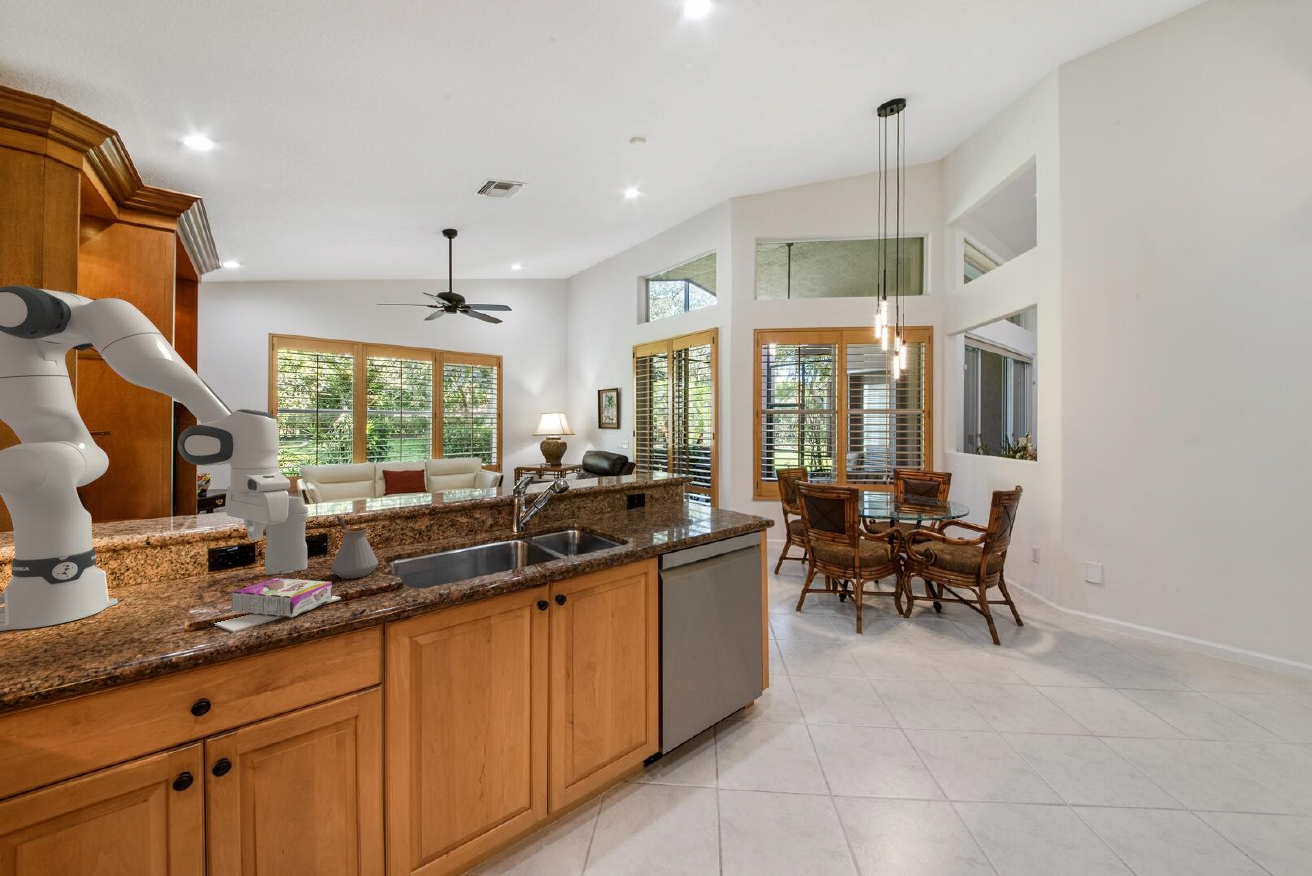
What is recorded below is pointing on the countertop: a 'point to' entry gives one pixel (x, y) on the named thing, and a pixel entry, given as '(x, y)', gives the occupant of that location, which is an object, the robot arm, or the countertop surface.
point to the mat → (251, 620)
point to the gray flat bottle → (287, 541)
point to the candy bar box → (282, 597)
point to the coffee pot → (354, 554)
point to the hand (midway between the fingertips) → (255, 539)
